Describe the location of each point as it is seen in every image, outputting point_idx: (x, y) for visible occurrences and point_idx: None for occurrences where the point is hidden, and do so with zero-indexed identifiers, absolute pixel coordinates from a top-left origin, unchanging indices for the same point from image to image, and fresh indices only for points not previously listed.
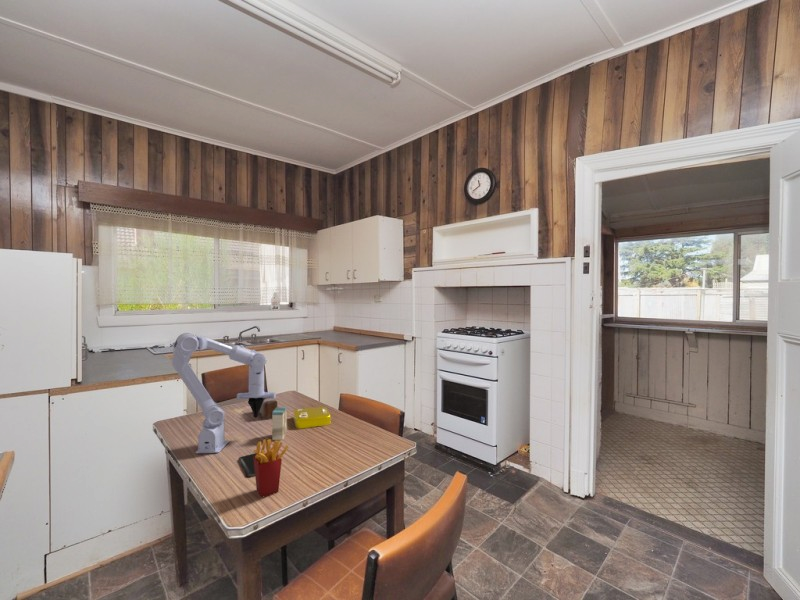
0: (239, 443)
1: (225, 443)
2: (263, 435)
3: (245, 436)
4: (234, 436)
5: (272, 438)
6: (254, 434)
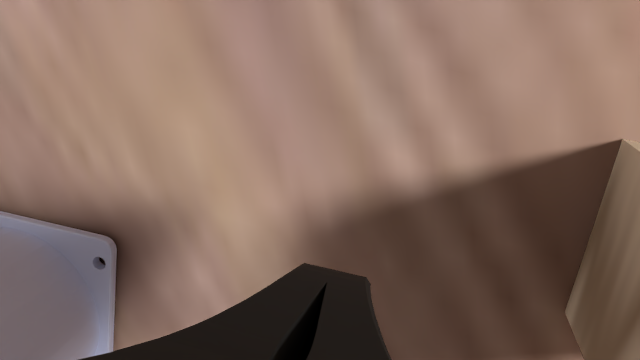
0: (227, 292)
1: (102, 299)
2: (452, 145)
3: (245, 122)
4: (126, 91)
5: (571, 322)
6: (338, 84)
